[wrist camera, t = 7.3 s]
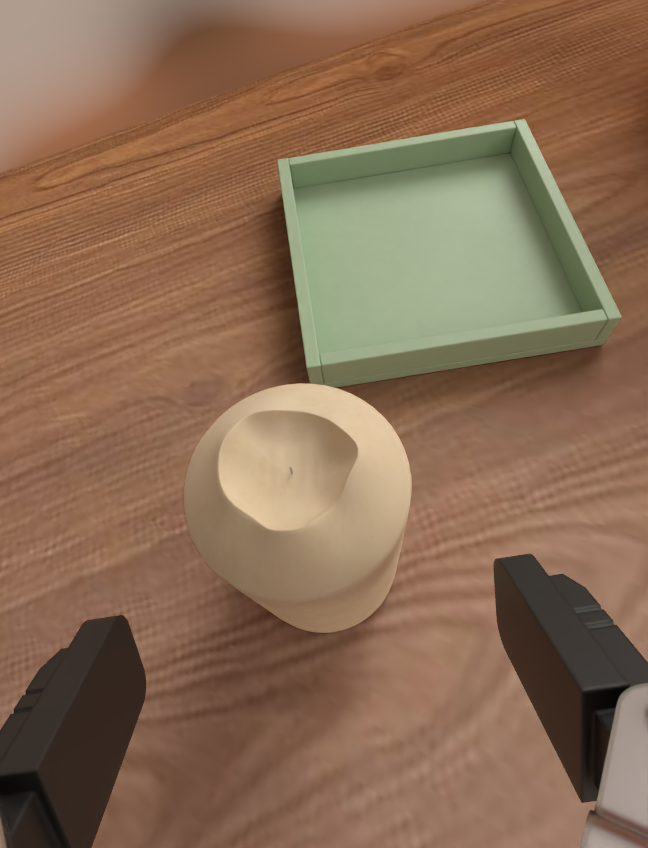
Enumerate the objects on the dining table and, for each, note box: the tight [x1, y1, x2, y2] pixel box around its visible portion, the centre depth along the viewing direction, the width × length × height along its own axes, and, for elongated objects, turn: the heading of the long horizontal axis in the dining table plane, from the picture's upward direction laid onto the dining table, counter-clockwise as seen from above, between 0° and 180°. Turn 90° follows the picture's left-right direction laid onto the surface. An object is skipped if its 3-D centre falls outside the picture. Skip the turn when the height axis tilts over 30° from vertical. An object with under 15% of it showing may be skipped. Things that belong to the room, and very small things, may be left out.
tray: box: [277, 119, 622, 388], centre depth 25 cm, size 13×13×2 cm
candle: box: [183, 383, 411, 633], centre depth 16 cm, size 6×6×10 cm
